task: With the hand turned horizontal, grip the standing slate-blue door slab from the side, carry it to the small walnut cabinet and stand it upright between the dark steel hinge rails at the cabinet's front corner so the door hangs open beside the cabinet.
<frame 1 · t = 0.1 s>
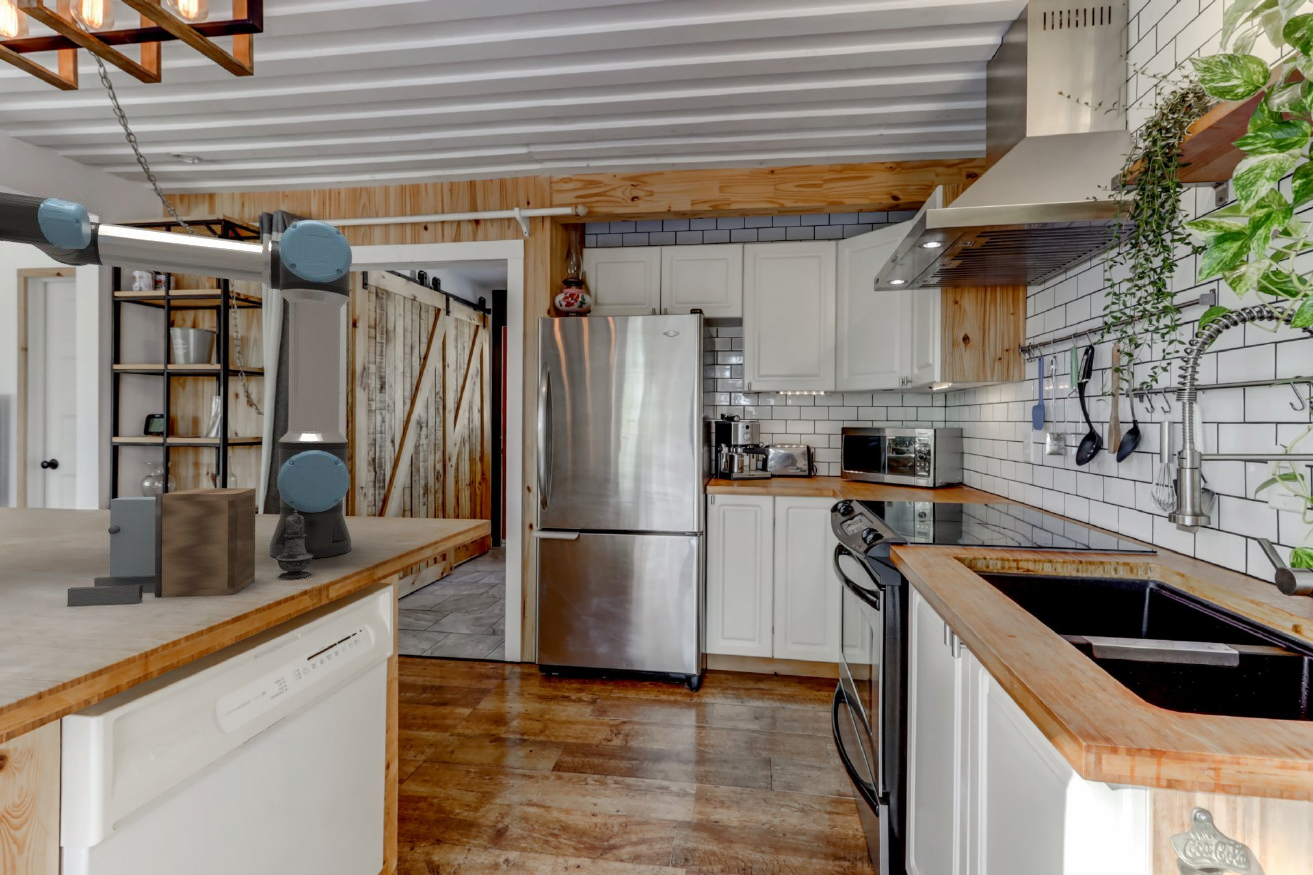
hinge bracket: (117, 597, 99), on the countertop
salt shaker: (294, 577, 115), on the countertop
door: (144, 579, 111), on the countertop
cabinet: (210, 588, 106), on the countertop
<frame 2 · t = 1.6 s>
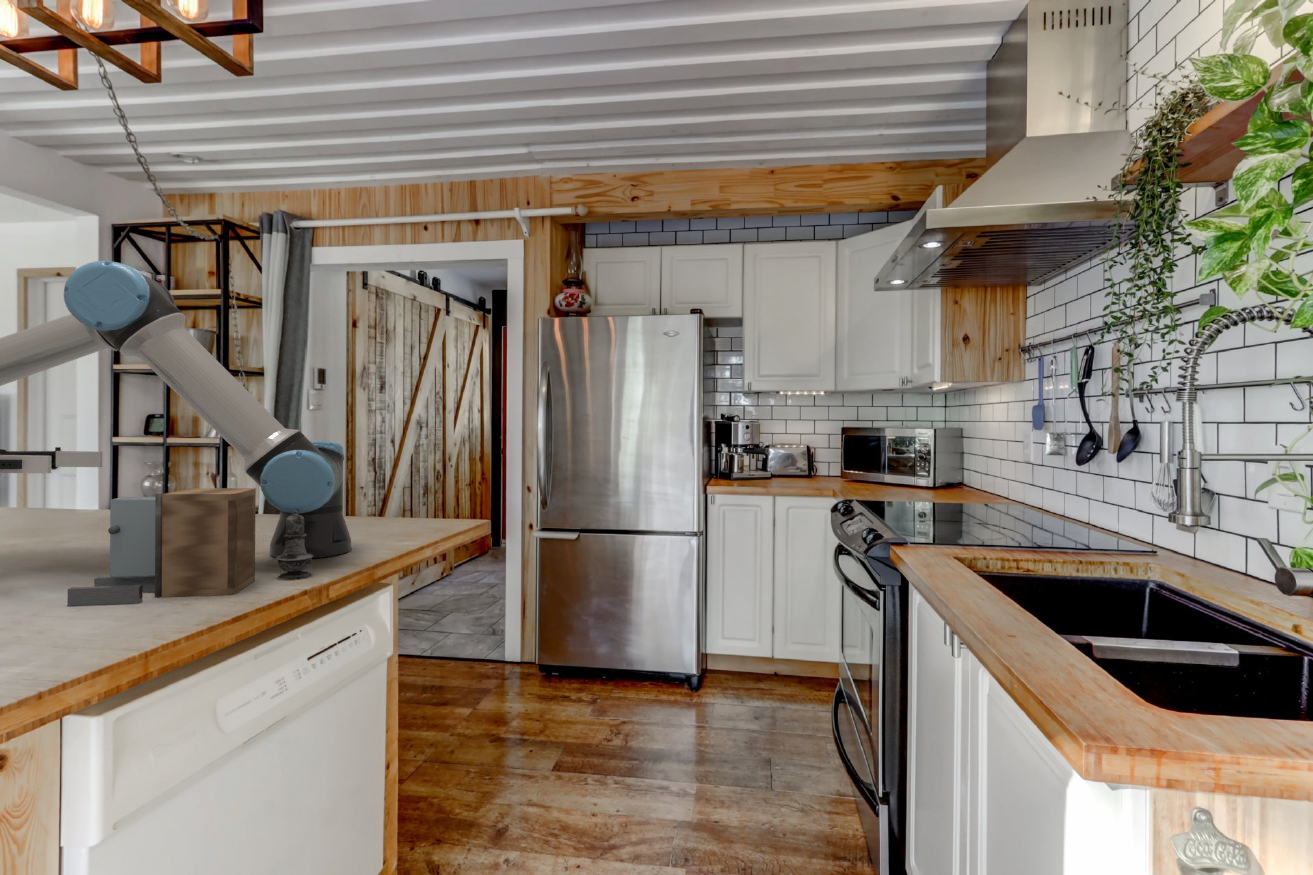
hand: (77, 461, 108), 20 cm above the countertop, tool horizontal, fingers open, 13 cm apart
nothing on the countertop moved.
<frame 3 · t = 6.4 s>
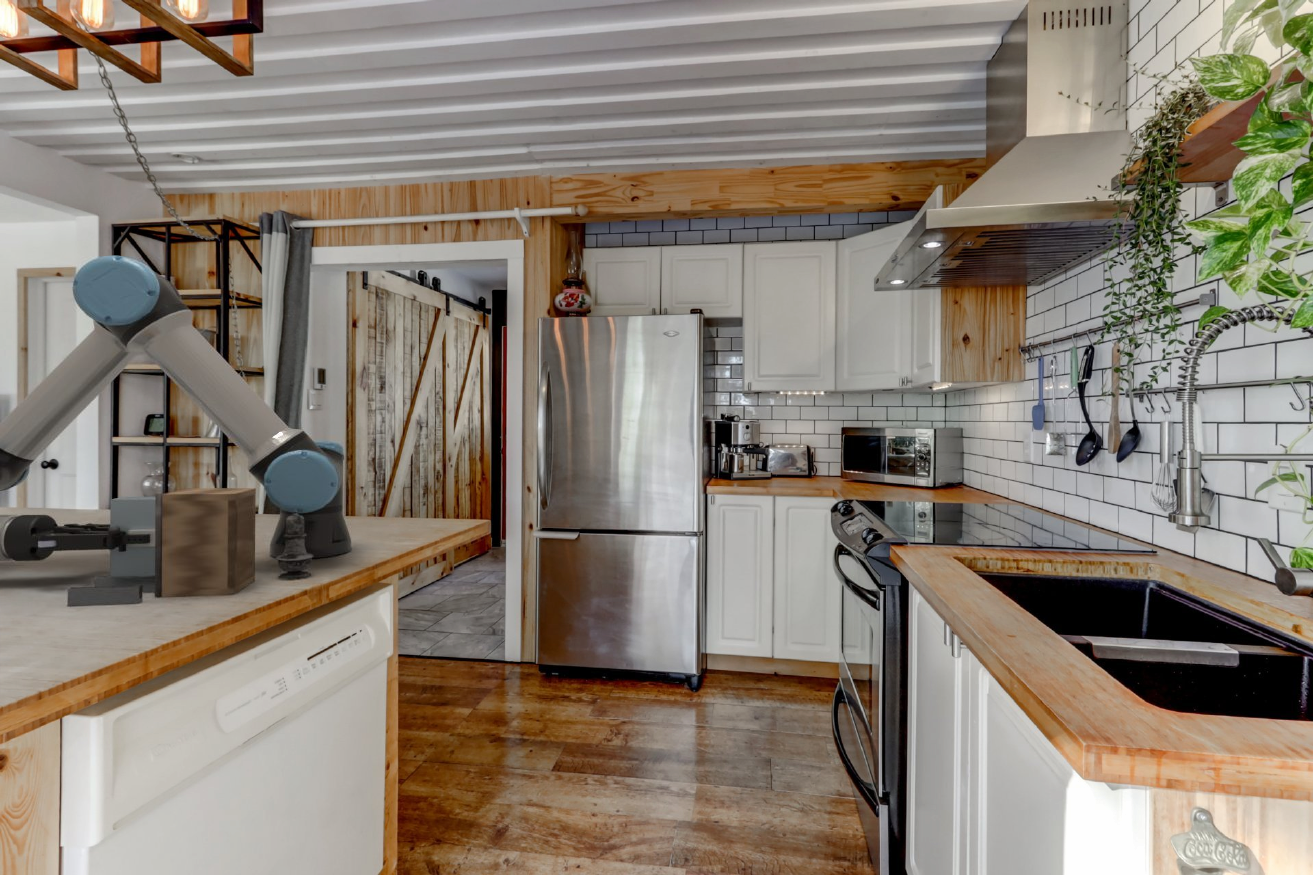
hand: (180, 535, 112), 8 cm above the countertop, tool horizontal, fingers closed on door, 4 cm apart
door: (144, 579, 111), on the countertop, touching gripper
everything else where it was.
when the fingers open (9 cm above the countertop, at t = 10.8 s): door drops 1 cm, on the countertop.
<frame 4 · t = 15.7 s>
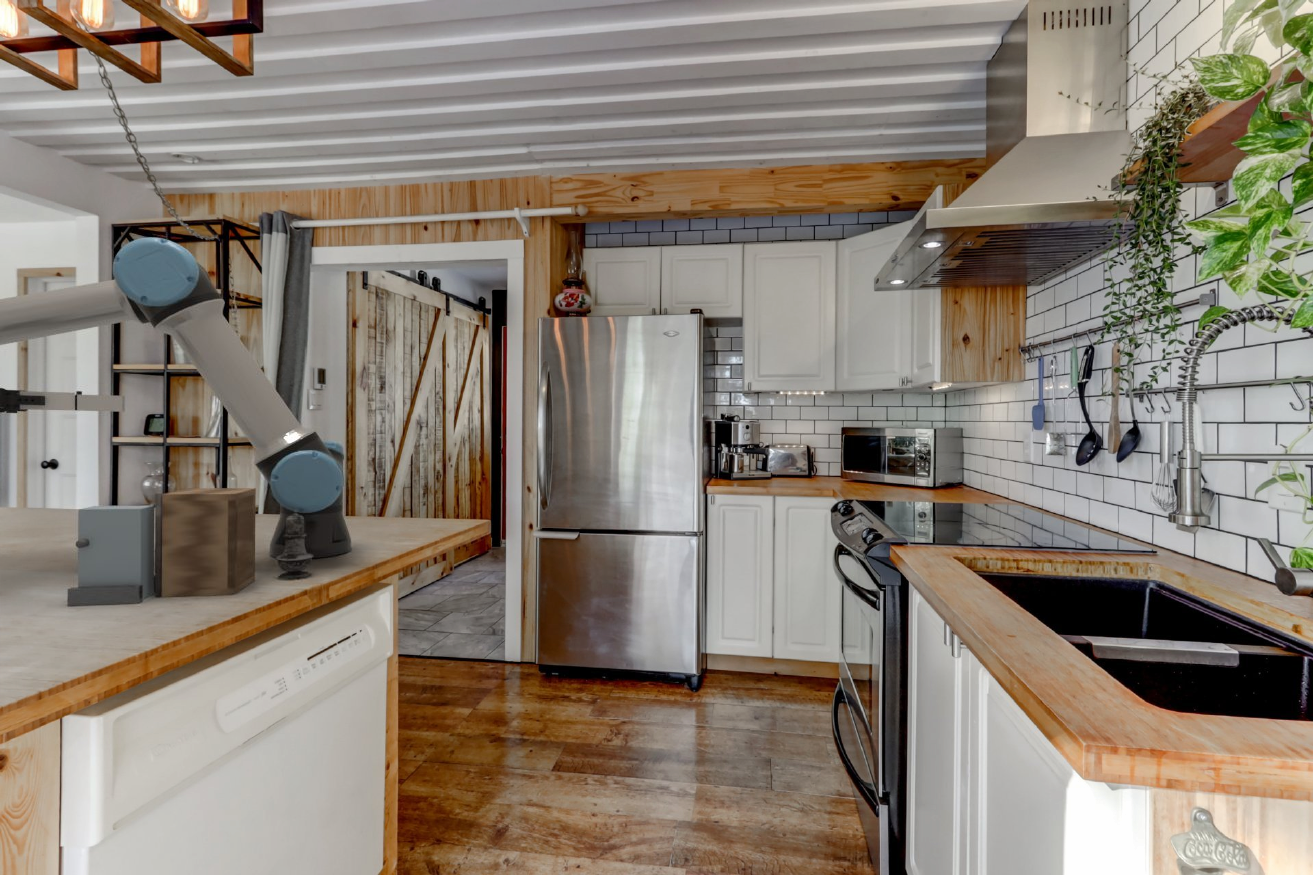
hand: (100, 402, 105), 30 cm above the countertop, tool horizontal, fingers open, 13 cm apart
door: (117, 598, 99), on the countertop
everything else where it was.
at the end: door 0.1 cm from the target spot, on the countertop; door tilted 0°; the gripper is holding nothing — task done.
